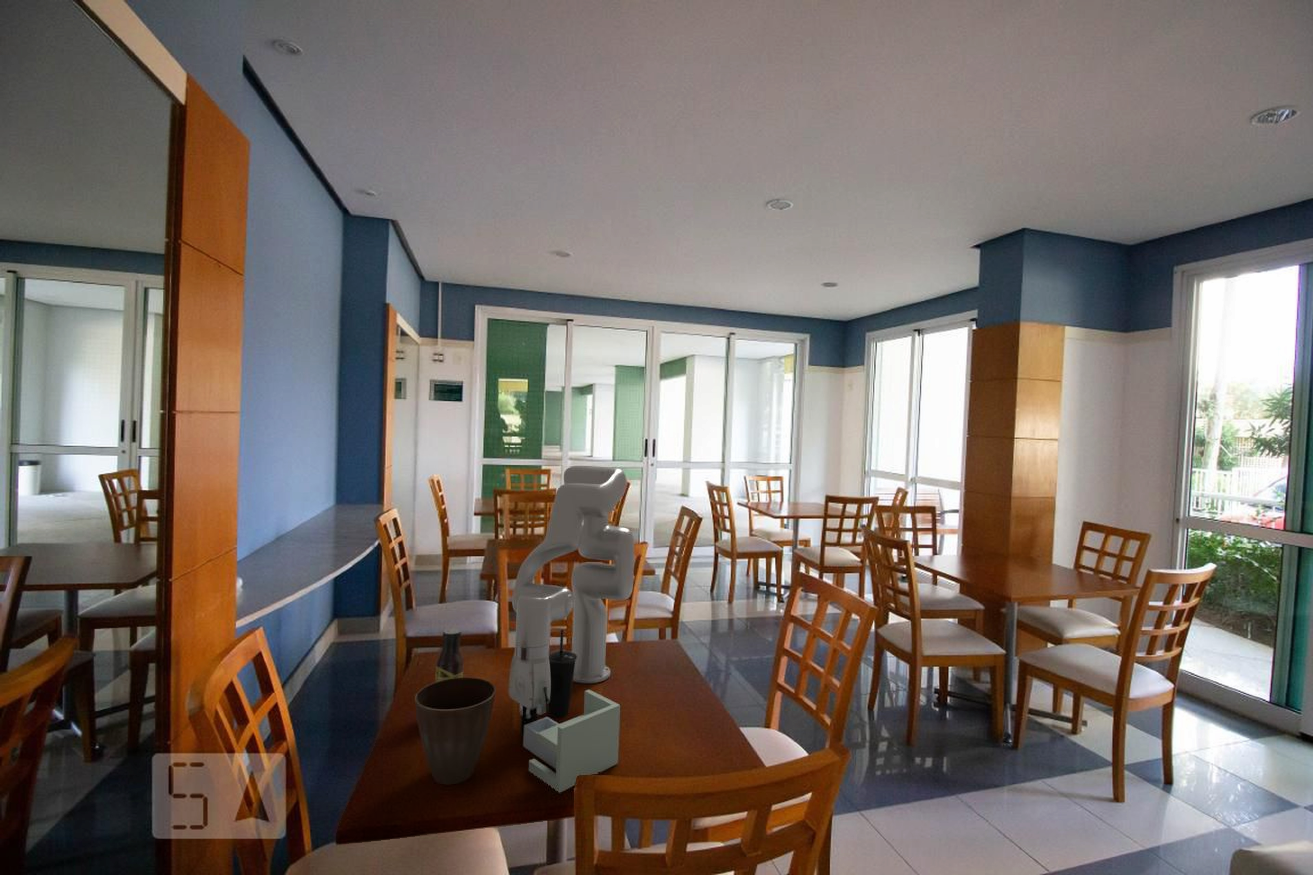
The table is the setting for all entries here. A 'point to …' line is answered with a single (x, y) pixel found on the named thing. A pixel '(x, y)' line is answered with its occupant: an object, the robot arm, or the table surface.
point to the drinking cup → (561, 680)
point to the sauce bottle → (450, 656)
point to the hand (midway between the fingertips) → (528, 732)
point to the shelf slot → (581, 743)
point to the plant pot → (454, 725)
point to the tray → (536, 746)
